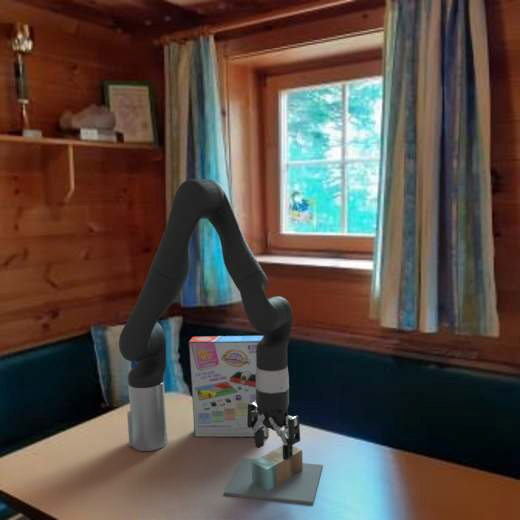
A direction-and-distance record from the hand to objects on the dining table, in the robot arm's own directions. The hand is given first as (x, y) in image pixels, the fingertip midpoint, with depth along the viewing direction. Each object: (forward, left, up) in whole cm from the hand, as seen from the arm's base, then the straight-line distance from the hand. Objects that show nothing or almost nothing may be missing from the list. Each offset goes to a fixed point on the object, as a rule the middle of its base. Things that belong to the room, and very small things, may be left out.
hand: (273, 452), depth 128 cm
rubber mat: (0, 0, -7) cm, 7 cm away
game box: (-17, +22, -7) cm, 29 cm away
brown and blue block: (+4, +6, -4) cm, 8 cm away
